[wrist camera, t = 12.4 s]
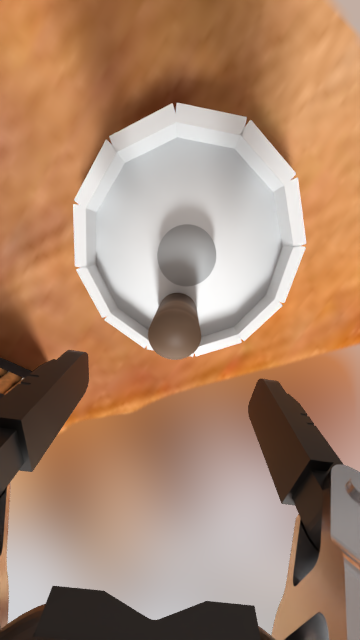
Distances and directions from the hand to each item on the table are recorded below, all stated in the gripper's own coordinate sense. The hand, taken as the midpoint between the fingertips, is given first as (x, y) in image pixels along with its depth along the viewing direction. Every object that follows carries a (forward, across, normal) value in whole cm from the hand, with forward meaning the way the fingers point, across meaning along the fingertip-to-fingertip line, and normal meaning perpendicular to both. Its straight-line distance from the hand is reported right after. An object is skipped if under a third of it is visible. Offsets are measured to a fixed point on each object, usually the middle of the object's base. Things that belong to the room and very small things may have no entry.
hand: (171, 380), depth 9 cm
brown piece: (+12, 0, +1) cm, 12 cm away
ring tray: (+12, 0, -5) cm, 13 cm away
